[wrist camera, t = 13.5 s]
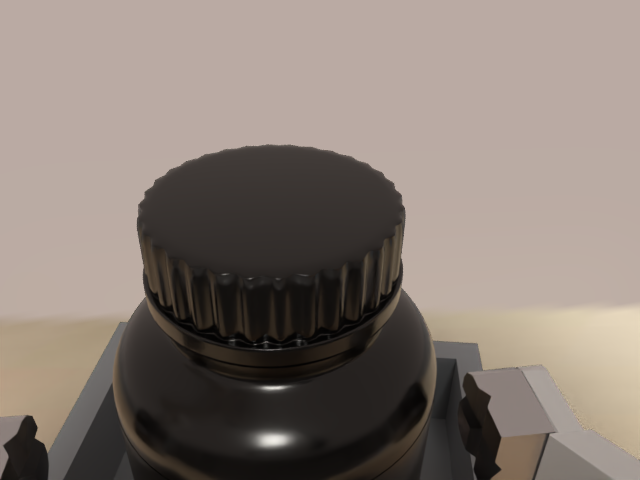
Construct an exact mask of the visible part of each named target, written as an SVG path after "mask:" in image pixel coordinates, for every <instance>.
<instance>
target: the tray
mask: <svg viewBox="0 0 640 480" xmlns="http://www.w3.org/2000/svg"><path fill="white" fill-rule="evenodd" d="M127 323H128V322H120V323H119V325H118V327H117V329H116V331H115V332H114V334H113V336H112V338H111V340H110V341H109V343H108V345H107V347H106V349H105V350H104V352H103V354H102V356H101V358H100V360H99V361H98V363H97V365H96V367H95V369H94V370H93V372H92V374H91V376H90V378H89V380H88V381H87V383H86V385H85V387H84V389H83V390H82V392H81V394H80V396H79V398H78V400H77V401H76V403H75V405H74V407H73V409H72V410H71V412H70V414H69V416H68V418H67V419H66V421H65V423H64V425H63V427H62V429H61V430H60V432H59V434H58V436H57V438H56V439H55V441H54V443H53V445H52V447H51V449H50V450H49V452H48V461H49V472H48V480H134V479H133V475H132V471H131V467H130V463H129V459H128V455H127V451H126V447H125V443H124V439H123V435H122V431H121V427H120V423H119V419H118V415H117V411H116V404H115V399H114V392H113V382H112V381H113V365H114V359H115V354H116V351H117V347H118V344H119V341H120V338H121V336H122V334H123V331H124V329H125V327H126V325H127ZM433 344H434V349H435V355H436V362H437V376H436V386H435V396H434V403H433V409H432V415H431V420H430V426H429V431H428V437H427V442H426V448H425V453H424V459H423V464H422V470H421V476H420V480H477V478H476V475H475V473H474V470H473V469H474V464H475V459H476V458H475V457H474V456H473V455H472V454H470V453H469V452H468V451H466V450H465V447H464V445H463V442H462V439H461V436H460V432H459V427H458V407H459V402H460V401H461V400H462V399H463V398H464V397H465V396H466V394H465V392H464V389H463V387H462V384H463V380H464V376H465V375H466V373H467V372H474V371H483V369H482V364H481V359H480V354H479V349H478V344H476V343H459V342H443V341H433Z"/></svg>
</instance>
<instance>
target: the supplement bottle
mask: <svg viewBox="0 0 640 480" xmlns="http://www.w3.org/2000/svg"><path fill="white" fill-rule="evenodd" d="M138 215H139V216H138V218H137V231H138V236H139V242H140V247H141V253H142V259H143V264H144V269H143V284H144V289H145V295H146V297H145V298H144V300H143V301H142V302H141V303H140V305H139V306H138V307H137V309H136V310H135V311H134V313H133V315H132V316H131V318H130V320H129V321H128V323H127V325H126V327H125V329H124V331H123V334H122V336H121V338H120V341H119V344H118V347H117V351H116V354H115V359H114V365H113V381H112V382H113V392H114V399H115V404H116V411H117V415H118V419H119V423H120V427H121V431H122V435H123V439H124V443H125V447H126V451H127V455H128V459H129V463H130V467H131V471H132V475H133V479H134V480H420V476H421V470H422V464H423V459H424V453H425V448H426V442H427V437H428V431H429V426H430V420H431V415H432V409H433V403H434V396H435V386H436V376H437V362H436V355H435V349H434V344H433V341H432V337H431V334H430V332H429V329H428V327H427V325H426V323H425V320H424V318H423V316H422V315H421V313H420V311H419V310H418V308H417V307H416V305H415V303H414V302H413V301H412V300H411V298H410V297H409V296H408V295H407V293H406V292H405V291H404V290H403V289H402V288H401V285H402V277H403V264H402V259H401V253H402V244H403V236H404V227H405V208H404V206H403V205H402V195H401V194H400V193H399V192H398V191H396V190H395V186H394V183H393V182H391V181H390V180H388V179H386V178H385V176H384V174H383V173H382V172H379V171H377V170H375V169H373V168H372V167H371V166H370V165H369V164H367V163H364V162H360V161H357V160H355V159H354V158H352V157H350V156H346V155H341V154H338V153H335V152H333V151H328V150H320V149H316V148H313V147H298V146H293V145H262V146H245V147H241V148H237V149H226V150H223V151H220V152H217V153H212V154H205V155H203V156H201V157H200V158H198V159H193V160H190V161H186V162H185V163H183V164H182V165H181V166H179V167H176V168H173V169H171V170H169V171H168V172H167V173H166V175H165V176H162V177H160V178H159V179H157V180H155V182H154V185H153V187H151V188H150V189H148V190H147V191H145V198H144V200H143V201H141V202H140V204H139V205H138Z"/></svg>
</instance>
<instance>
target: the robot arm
mask: <svg viewBox="0 0 640 480" xmlns="http://www.w3.org/2000/svg"><path fill="white" fill-rule="evenodd" d="M462 387H463V389H464V392H465V394H466V396H465V397H464V398H463V399H462V400H461V401H460V402H459V407H458V427H459V432H460V436H461V439H462V442H463V445H464V447H465V450H466V451H468V452H469V453H470V454H472V455H473V456H474V457H475V458H476V459H475V464H474V469H473V470H474V473H475V475H476V478H477V480H640V460H638V459H637V458H635V457H634V456H632V455H631V454H629V453H628V452H626V451H625V450H623V449H621V448H620V447H618V446H617V445H615V444H614V443H612V442H611V441H609V440H607V439H606V438H604V437H603V436H601V435H600V434H598V433H597V432H595V431H594V430H592V429H591V430H584V428H583V427H582V425H581V424H580V422H579V420H578V419H577V417H576V416H575V414H574V412H573V411H572V409H571V407H570V406H569V404H568V403H567V401H566V399H565V398H564V396H563V395H562V393H561V391H560V390H559V388H558V387H557V385H556V383H555V382H554V380H553V378H552V377H551V375H550V374H549V372H548V370H547V369H546V368H545V367H544V366H542V365H533V366H523V367H516V368H514V367H511V368H502V369H493V370H483V371H474V372H467V373H466V375H465V376H464V380H463V384H462ZM36 431H37V425H36V423H35V421H34V419H33V417H32V416H29V415H23V416H9V417H0V480H48V472H49V461H48V454H47V451H46V448H45V445H44V444H43V443H42V442H40V441H38V440H37V439H35V435H36Z"/></svg>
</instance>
